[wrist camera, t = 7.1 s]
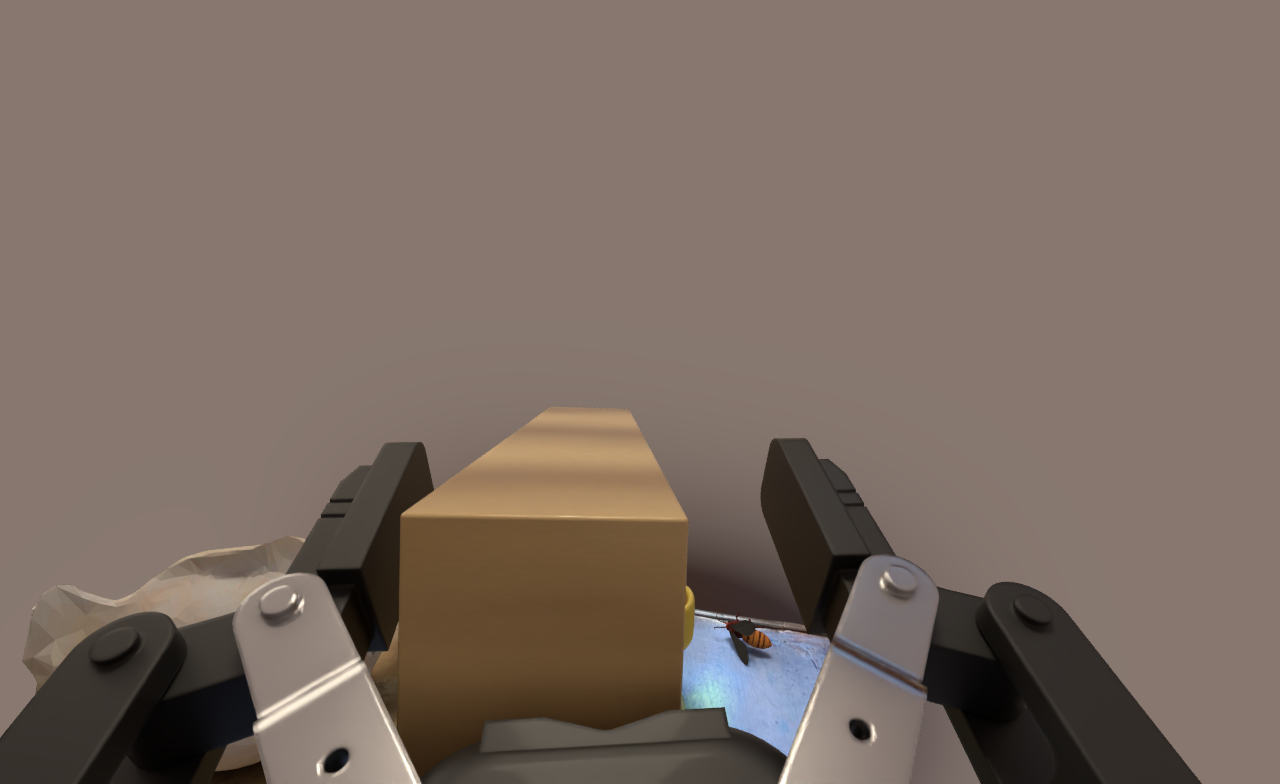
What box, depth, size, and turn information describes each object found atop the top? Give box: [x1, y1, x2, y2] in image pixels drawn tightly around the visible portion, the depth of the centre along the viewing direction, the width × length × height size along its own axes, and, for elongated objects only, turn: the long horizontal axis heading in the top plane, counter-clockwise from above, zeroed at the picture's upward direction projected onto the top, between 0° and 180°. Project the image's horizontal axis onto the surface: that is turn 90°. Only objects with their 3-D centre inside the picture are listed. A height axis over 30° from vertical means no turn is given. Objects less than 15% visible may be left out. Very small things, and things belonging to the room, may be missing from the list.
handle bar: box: [397, 407, 689, 778], centre depth 18 cm, size 20×4×10 cm, turn 4°
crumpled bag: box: [22, 536, 382, 771], centre depth 40 cm, size 16×19×15 cm
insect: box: [714, 613, 772, 665], centre depth 56 cm, size 4×6×5 cm
